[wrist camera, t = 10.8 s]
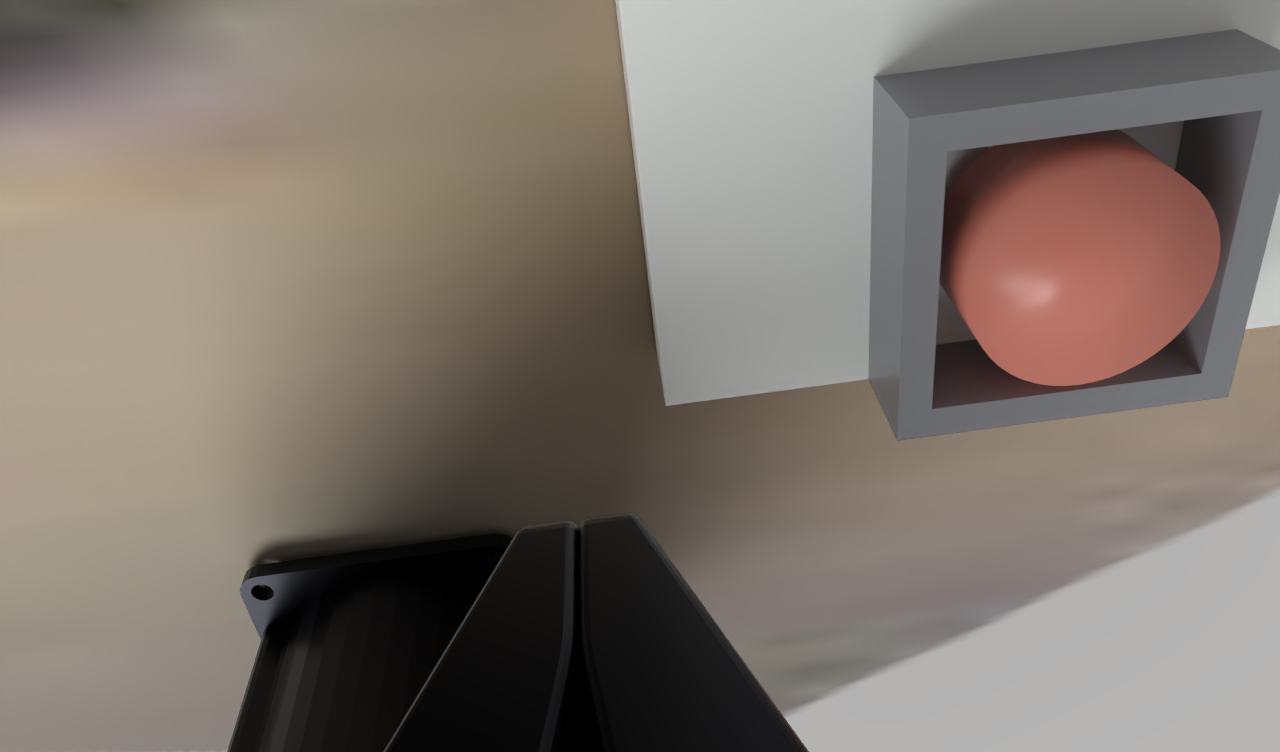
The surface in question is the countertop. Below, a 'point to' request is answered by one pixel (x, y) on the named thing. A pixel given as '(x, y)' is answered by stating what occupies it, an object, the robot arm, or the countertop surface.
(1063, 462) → the countertop surface
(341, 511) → the countertop surface
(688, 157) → the control panel
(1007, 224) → the push button
